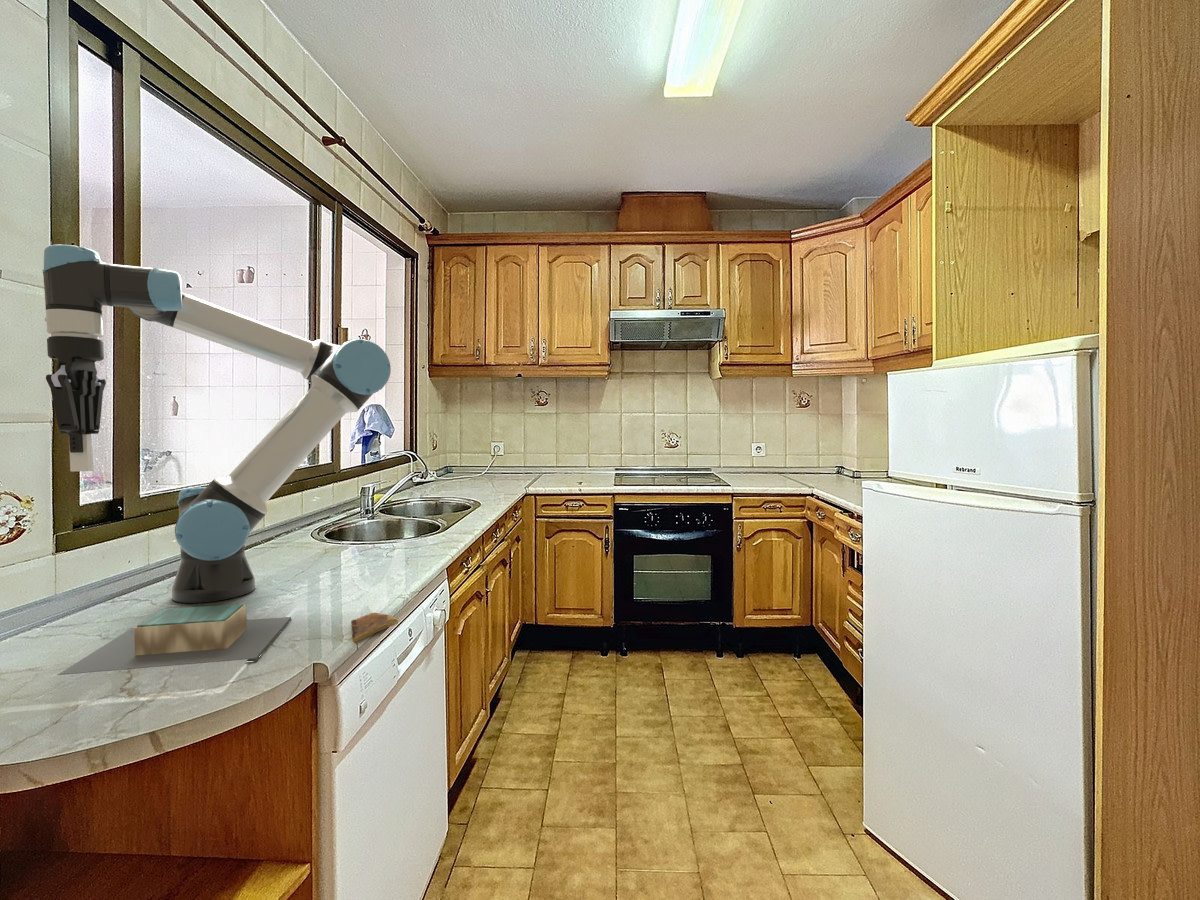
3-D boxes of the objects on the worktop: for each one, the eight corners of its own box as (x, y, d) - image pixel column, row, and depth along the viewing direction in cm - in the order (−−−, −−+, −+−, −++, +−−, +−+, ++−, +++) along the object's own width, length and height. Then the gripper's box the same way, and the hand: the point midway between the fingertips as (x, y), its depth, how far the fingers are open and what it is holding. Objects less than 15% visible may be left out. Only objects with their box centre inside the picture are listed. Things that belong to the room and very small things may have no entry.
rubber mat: (58, 678, 87) (57, 674, 87) (131, 631, 107) (131, 628, 107) (255, 661, 93) (255, 658, 93) (291, 620, 113) (291, 616, 113)
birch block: (133, 626, 94) (226, 619, 97) (161, 608, 103) (245, 603, 106) (135, 655, 94) (227, 648, 97) (162, 635, 103) (246, 629, 106)
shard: (352, 646, 101) (352, 635, 101) (320, 639, 104) (320, 629, 104) (400, 626, 111) (399, 616, 111) (369, 620, 114) (369, 610, 114)
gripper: (73, 341, 112) (79, 468, 113) (24, 331, 99) (31, 474, 100) (120, 342, 113) (126, 467, 114) (77, 332, 101) (84, 473, 102)
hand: (81, 470), depth 107 cm, fingers closed
